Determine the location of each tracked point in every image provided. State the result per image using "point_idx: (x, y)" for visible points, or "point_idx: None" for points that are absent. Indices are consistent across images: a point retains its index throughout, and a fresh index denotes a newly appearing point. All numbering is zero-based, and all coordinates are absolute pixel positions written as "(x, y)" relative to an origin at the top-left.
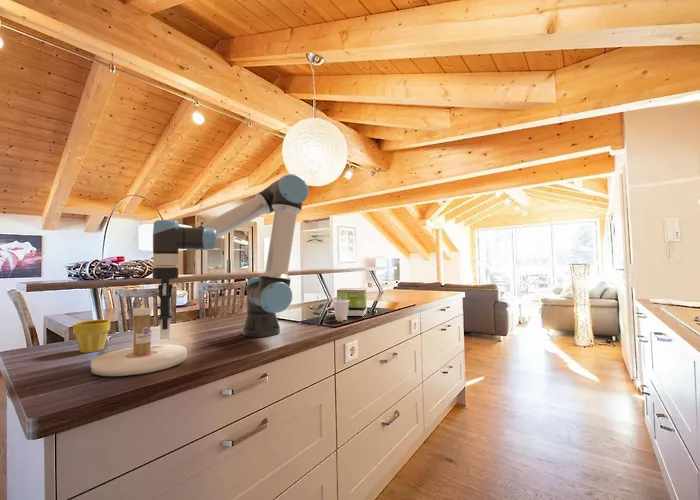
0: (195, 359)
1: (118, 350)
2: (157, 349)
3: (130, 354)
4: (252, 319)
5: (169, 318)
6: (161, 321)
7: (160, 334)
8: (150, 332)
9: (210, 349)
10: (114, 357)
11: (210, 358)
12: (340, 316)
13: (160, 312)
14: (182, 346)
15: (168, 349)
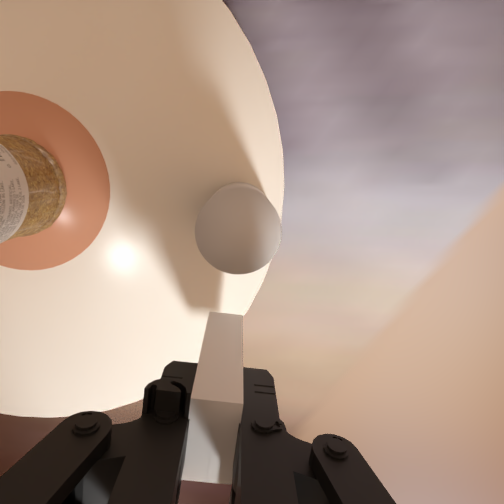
0: (23, 418)
1: (231, 45)
2: (112, 275)
3: (41, 120)
4: None
5: (215, 479)
6: (191, 394)
7: (206, 327)
8: (218, 265)
9: (196, 501)
10: (17, 23)
11: None
12: None
13: (13, 467)
14: (116, 405)
15: (76, 331)
